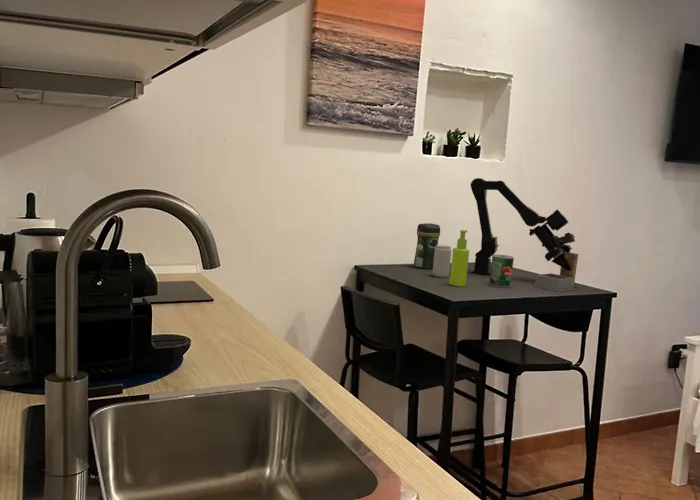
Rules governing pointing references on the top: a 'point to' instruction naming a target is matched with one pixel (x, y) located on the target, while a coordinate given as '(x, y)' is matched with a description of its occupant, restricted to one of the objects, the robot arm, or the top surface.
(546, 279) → the grey square tray
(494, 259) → the canned tomato
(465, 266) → the soap dispenser
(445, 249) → the beverage can
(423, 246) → the coffee jar
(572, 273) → the brown wooden block
